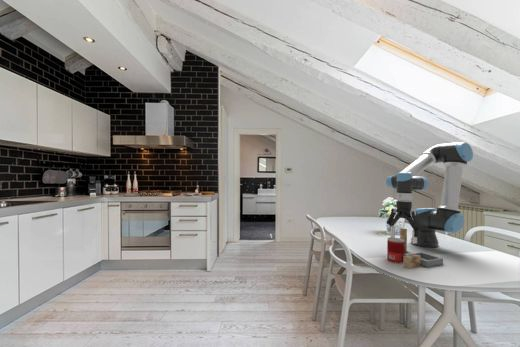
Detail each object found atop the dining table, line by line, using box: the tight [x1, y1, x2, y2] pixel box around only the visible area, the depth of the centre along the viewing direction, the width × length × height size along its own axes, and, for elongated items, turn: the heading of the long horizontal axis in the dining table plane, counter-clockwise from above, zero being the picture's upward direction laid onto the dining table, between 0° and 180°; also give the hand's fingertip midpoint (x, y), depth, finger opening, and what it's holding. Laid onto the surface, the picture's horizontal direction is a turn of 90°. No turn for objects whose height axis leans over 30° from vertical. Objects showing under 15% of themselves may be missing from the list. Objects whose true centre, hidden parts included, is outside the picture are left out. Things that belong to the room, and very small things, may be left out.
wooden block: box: [402, 254, 421, 269], centre depth 136 cm, size 8×3×5 cm, turn 114°
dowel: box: [399, 227, 408, 253], centre depth 152 cm, size 3×3×15 cm
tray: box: [405, 251, 444, 268], centre depth 142 cm, size 12×12×3 cm
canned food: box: [386, 237, 405, 264], centre depth 145 cm, size 8×8×11 cm
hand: (403, 240), depth 152 cm, fingers open, 13 cm apart
